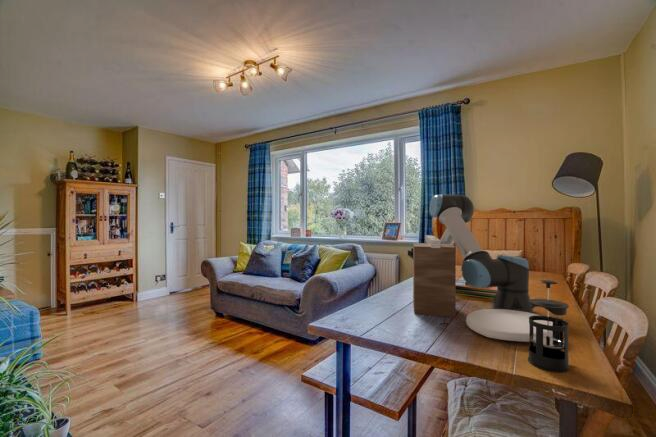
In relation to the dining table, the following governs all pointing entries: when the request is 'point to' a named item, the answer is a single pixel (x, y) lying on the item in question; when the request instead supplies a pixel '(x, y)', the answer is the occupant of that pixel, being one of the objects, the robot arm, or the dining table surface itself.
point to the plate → (504, 324)
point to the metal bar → (432, 241)
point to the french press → (548, 347)
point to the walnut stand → (434, 280)
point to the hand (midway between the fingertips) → (428, 247)
